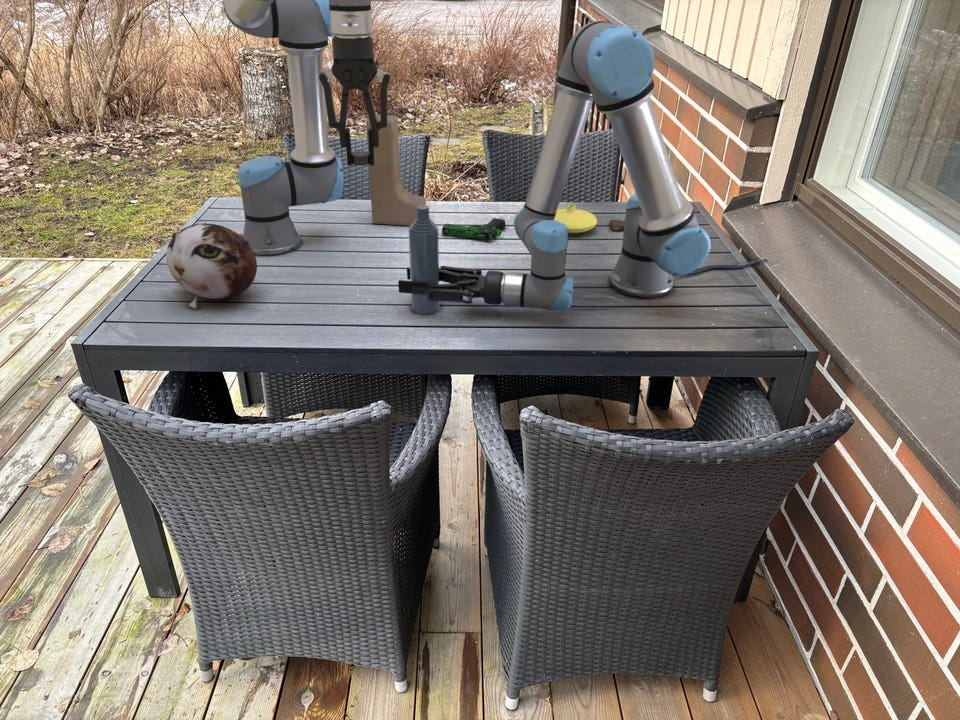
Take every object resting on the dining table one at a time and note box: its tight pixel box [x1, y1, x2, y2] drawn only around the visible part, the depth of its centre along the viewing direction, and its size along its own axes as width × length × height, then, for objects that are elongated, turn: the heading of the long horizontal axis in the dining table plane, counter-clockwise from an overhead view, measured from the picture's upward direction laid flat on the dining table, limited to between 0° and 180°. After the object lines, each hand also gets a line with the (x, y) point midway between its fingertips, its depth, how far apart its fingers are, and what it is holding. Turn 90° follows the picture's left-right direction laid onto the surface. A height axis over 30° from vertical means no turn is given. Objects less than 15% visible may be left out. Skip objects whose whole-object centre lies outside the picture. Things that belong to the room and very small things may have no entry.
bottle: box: [408, 204, 441, 315], centre depth 159 cm, size 6×6×24 cm
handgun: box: [441, 217, 506, 242], centre depth 207 cm, size 16×3×15 cm
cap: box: [351, 150, 370, 167], centre depth 142 cm, size 4×4×2 cm
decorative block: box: [365, 114, 427, 227], centre depth 207 cm, size 8×15×30 cm, turn 82°
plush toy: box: [165, 222, 258, 309], centre depth 165 cm, size 22×18×20 cm
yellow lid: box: [554, 203, 598, 234], centre depth 209 cm, size 16×16×7 cm
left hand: (361, 163), depth 143 cm, fingers closed on cap, 4 cm apart
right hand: (403, 279), depth 163 cm, fingers closed on bottle, 6 cm apart
